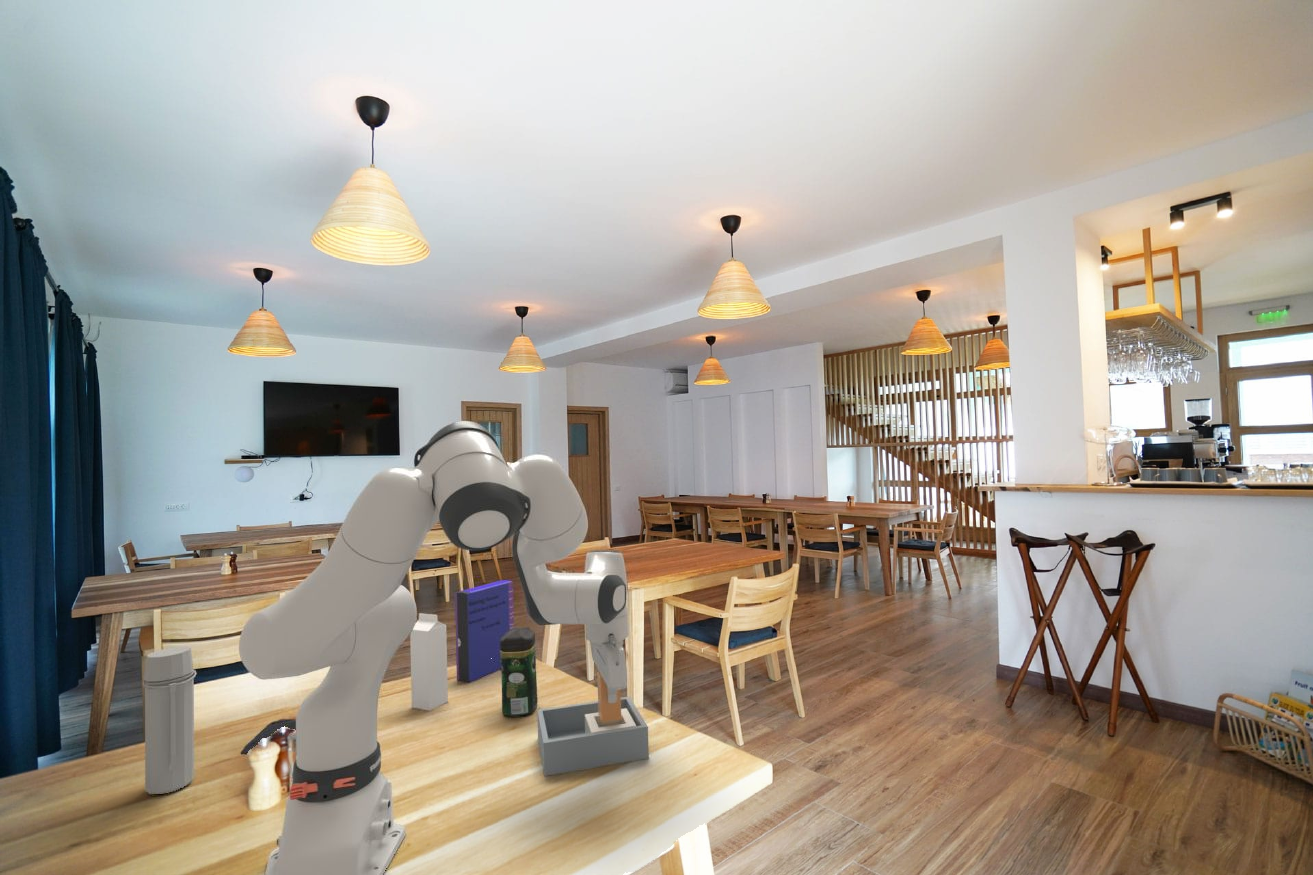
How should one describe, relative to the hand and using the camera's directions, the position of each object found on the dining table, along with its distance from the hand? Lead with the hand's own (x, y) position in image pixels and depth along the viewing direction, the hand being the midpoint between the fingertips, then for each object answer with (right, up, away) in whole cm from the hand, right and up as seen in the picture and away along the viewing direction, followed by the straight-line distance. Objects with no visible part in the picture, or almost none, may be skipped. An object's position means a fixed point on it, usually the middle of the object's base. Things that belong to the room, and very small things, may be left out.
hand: (609, 696), depth 123 cm
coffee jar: (-23, -12, +19) cm, 32 cm away
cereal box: (-38, -13, +47) cm, 62 cm away
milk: (-46, -13, +24) cm, 53 cm away
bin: (-4, -10, -1) cm, 11 cm away
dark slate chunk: (-66, -13, +8) cm, 68 cm away
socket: (0, -9, 0) cm, 9 cm away
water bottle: (-81, -13, -11) cm, 82 cm away
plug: (0, -4, 0) cm, 4 cm away
